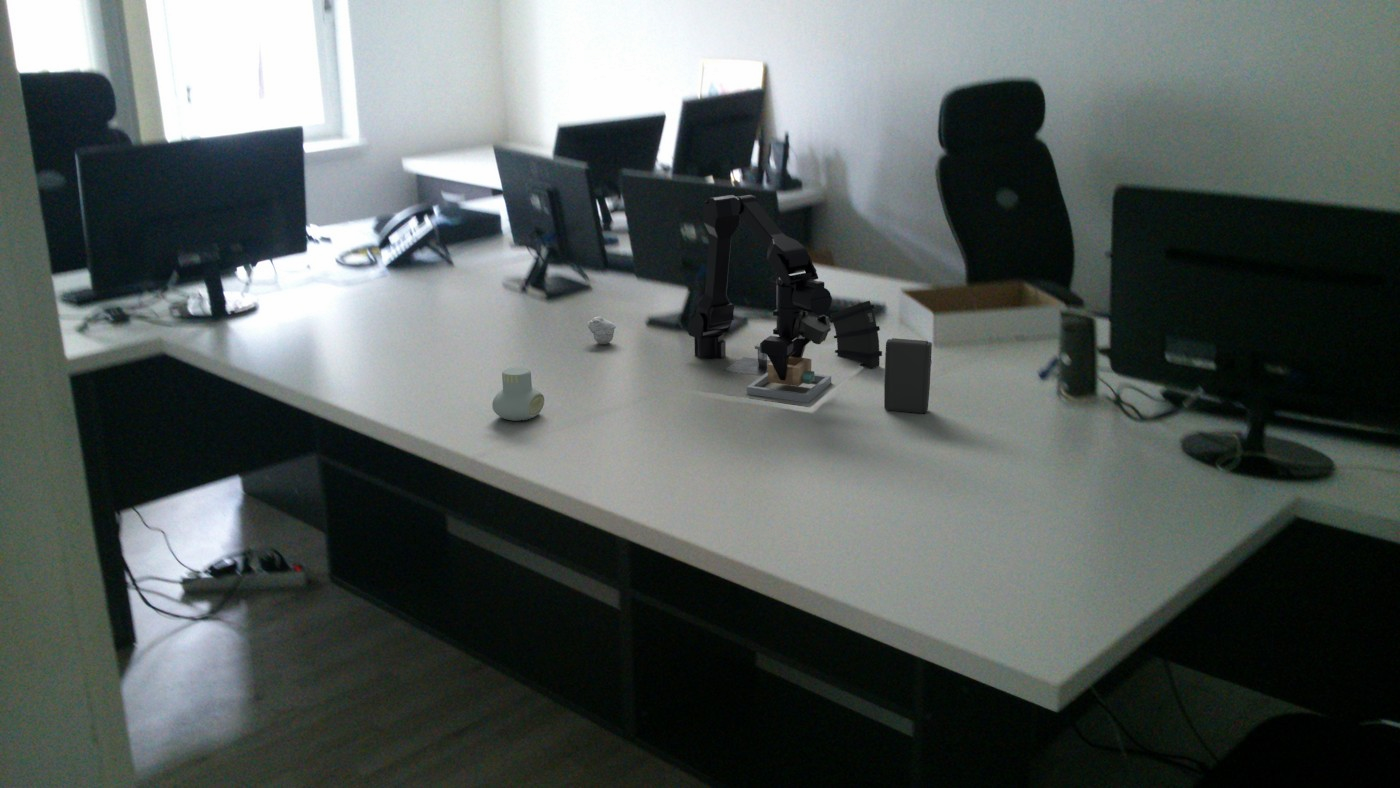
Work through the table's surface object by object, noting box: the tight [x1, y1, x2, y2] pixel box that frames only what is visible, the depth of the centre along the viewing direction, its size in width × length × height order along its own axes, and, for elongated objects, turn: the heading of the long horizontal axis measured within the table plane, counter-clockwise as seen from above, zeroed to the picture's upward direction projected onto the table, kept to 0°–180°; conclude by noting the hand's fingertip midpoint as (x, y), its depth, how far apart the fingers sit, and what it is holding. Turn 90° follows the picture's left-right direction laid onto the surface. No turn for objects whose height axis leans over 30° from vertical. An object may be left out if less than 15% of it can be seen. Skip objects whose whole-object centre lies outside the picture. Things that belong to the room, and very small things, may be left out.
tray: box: [746, 372, 832, 407], centre depth 259 cm, size 14×14×2 cm
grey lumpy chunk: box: [587, 316, 617, 345], centre depth 296 cm, size 6×7×7 cm
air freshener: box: [492, 366, 545, 422], centre depth 247 cm, size 11×8×10 cm
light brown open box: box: [767, 356, 815, 387], centre depth 258 cm, size 7×9×4 cm
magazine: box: [829, 300, 883, 370], centre depth 278 cm, size 4×13×15 cm, turn 40°
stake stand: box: [723, 343, 771, 377], centre depth 274 cm, size 11×11×6 cm
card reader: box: [883, 337, 933, 414], centre depth 246 cm, size 9×4×15 cm, turn 71°
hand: (789, 374), depth 259 cm, fingers closed on light brown open box, 7 cm apart
